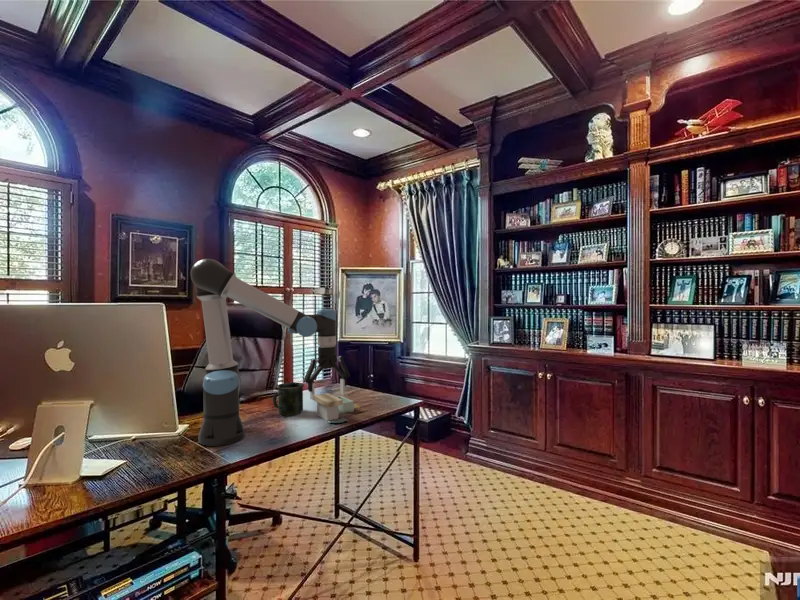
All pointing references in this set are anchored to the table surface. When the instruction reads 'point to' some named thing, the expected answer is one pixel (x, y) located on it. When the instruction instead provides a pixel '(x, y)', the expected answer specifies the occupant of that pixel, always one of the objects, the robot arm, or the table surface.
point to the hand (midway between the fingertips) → (327, 396)
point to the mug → (289, 398)
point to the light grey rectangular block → (327, 412)
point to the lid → (328, 400)
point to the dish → (346, 405)
